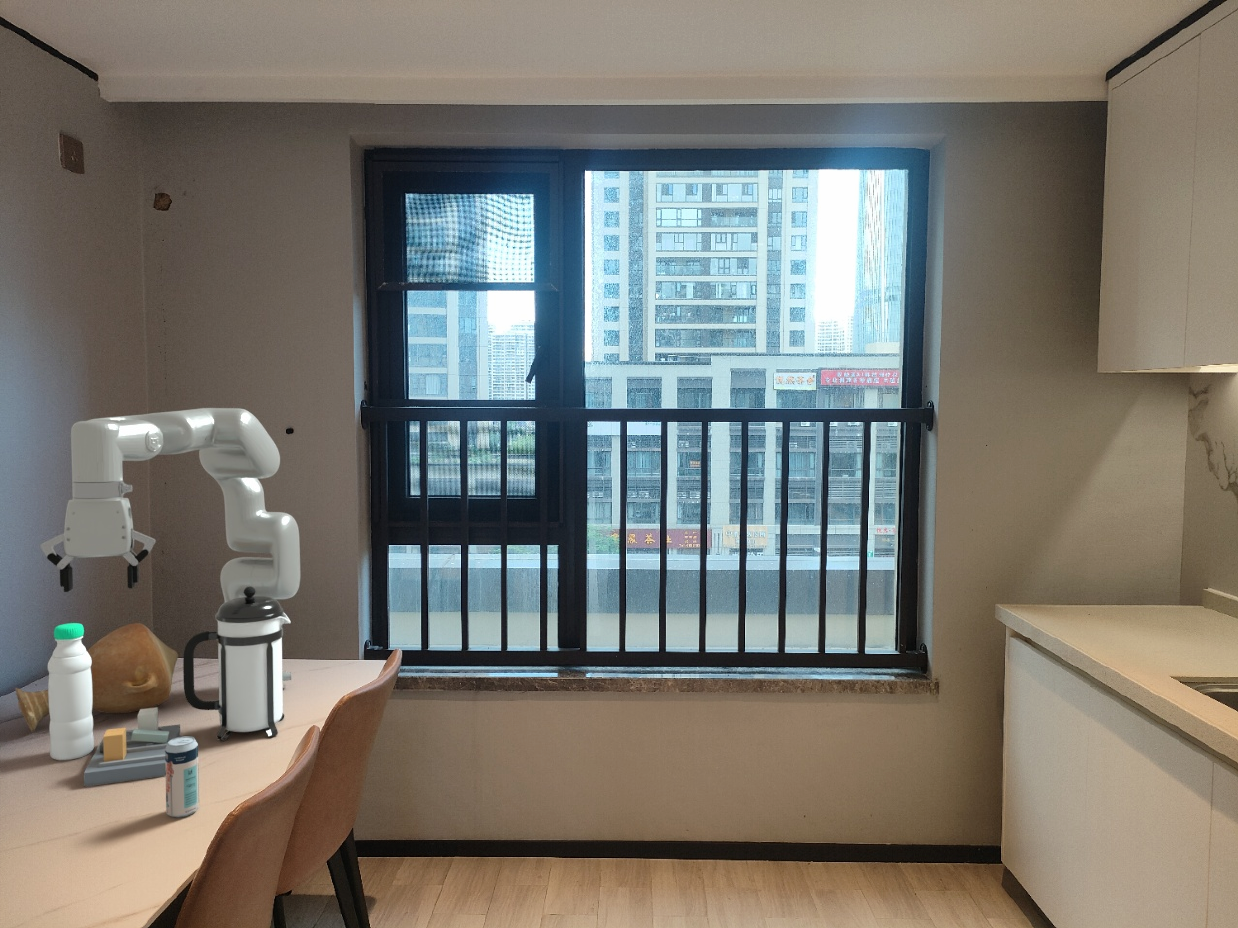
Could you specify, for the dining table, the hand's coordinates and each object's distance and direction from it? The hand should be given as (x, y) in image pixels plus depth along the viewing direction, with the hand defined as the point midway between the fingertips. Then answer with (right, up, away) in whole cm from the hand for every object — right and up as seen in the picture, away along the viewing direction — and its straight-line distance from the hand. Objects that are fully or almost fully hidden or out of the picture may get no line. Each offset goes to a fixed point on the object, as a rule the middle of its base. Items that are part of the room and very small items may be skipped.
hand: (100, 588), depth 148 cm
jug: (-21, -33, +34) cm, 52 cm away
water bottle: (-13, -34, +13) cm, 39 cm away
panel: (0, -34, +11) cm, 36 cm away
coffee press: (+14, -33, +26) cm, 44 cm away
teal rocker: (+2, -30, +12) cm, 32 cm away
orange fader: (-1, -32, +5) cm, 32 cm away
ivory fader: (-1, -31, +16) cm, 35 cm away
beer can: (+20, -35, -10) cm, 42 cm away
